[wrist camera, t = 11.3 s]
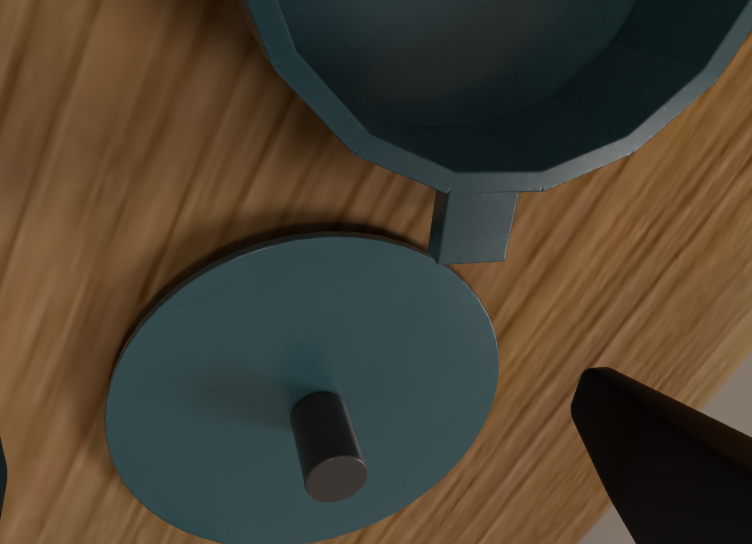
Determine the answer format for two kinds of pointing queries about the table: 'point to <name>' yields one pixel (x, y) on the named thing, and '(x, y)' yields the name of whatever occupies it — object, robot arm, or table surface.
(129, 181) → the table surface
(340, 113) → the pot
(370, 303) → the lid
